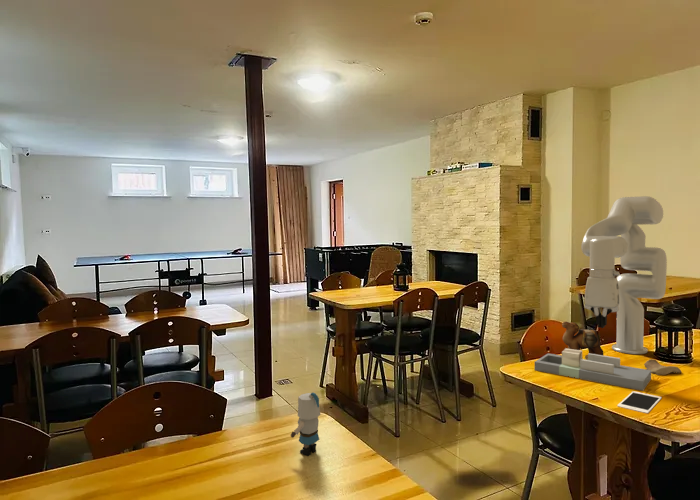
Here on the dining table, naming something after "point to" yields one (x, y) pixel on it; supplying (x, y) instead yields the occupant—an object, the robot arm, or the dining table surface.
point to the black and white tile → (639, 402)
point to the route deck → (597, 370)
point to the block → (571, 357)
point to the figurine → (581, 339)
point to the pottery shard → (660, 368)
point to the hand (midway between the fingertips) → (601, 326)
